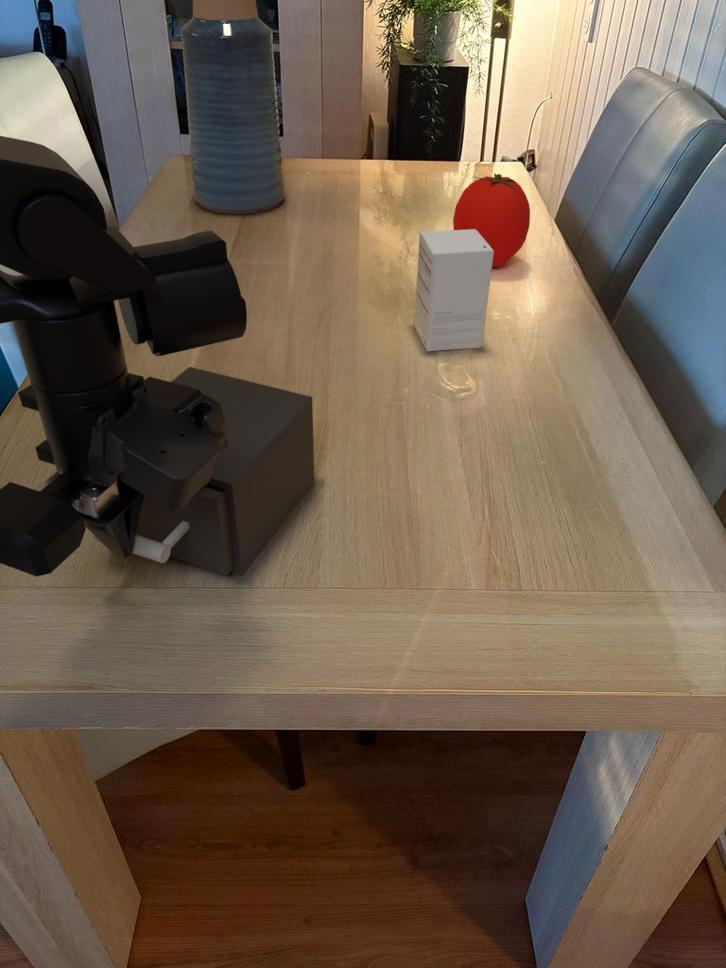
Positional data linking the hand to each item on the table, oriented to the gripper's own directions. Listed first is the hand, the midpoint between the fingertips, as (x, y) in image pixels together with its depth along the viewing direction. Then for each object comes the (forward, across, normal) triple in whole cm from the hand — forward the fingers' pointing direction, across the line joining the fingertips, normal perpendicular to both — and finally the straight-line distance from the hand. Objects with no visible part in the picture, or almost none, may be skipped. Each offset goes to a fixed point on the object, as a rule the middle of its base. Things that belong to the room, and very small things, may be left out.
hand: (123, 555), depth 55 cm
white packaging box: (+5, +54, -8) cm, 55 cm away
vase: (+5, +89, +43) cm, 99 cm away
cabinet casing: (+5, +13, 0) cm, 14 cm away
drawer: (+4, +9, 0) cm, 10 cm away
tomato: (+5, +80, -6) cm, 80 cm away
